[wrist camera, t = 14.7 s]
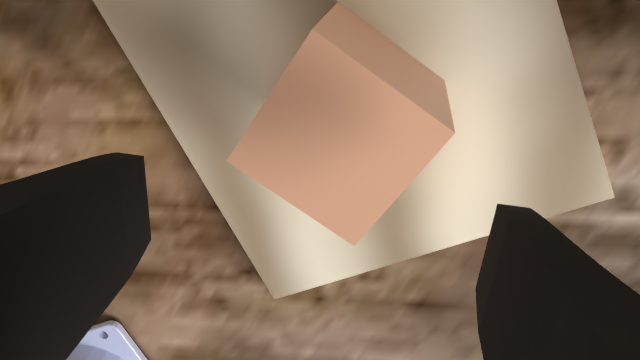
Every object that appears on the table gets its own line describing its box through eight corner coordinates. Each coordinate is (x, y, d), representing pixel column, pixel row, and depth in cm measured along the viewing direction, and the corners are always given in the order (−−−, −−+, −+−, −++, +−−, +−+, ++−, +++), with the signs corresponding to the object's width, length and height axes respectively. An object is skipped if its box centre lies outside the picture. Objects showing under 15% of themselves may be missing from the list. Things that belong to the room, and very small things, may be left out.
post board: (280, 282, 24) (256, 348, 20) (106, -9, 19) (34, 7, 16) (603, 182, 20) (648, 243, 16) (480, -230, 15) (502, -281, 11)
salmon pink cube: (444, 80, 18) (455, 133, 13) (367, 173, 20) (354, 246, 15) (338, 1, 17) (312, 29, 13) (269, 105, 19) (226, 160, 15)
